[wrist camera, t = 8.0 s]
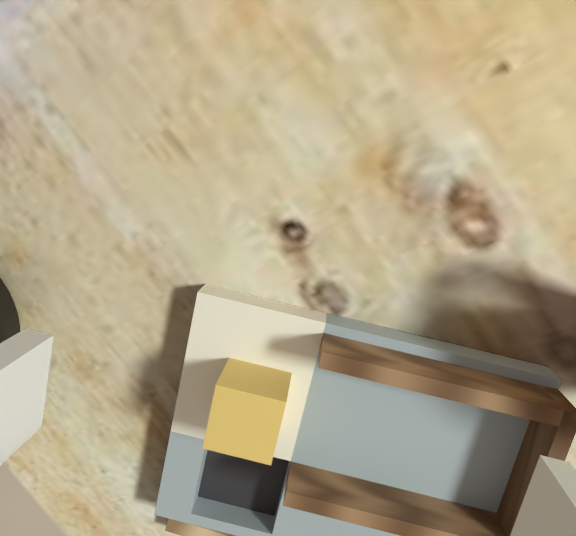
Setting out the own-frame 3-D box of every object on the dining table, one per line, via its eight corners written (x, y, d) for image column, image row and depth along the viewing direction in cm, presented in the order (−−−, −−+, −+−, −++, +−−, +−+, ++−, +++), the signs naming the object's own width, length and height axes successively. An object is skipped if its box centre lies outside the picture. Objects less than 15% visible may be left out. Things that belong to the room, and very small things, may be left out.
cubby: (287, 474, 44) (282, 505, 40) (323, 332, 41) (322, 351, 37) (506, 529, 43) (523, 566, 39) (558, 389, 40) (582, 415, 37)
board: (163, 496, 48) (154, 514, 46) (205, 284, 44) (197, 291, 41) (473, 575, 47) (481, 598, 45) (548, 366, 43) (561, 380, 40)
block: (217, 414, 43) (202, 448, 38) (229, 357, 42) (215, 384, 37) (278, 429, 43) (271, 465, 38) (292, 372, 42) (286, 402, 37)
